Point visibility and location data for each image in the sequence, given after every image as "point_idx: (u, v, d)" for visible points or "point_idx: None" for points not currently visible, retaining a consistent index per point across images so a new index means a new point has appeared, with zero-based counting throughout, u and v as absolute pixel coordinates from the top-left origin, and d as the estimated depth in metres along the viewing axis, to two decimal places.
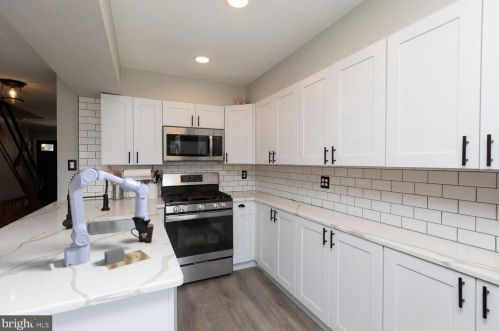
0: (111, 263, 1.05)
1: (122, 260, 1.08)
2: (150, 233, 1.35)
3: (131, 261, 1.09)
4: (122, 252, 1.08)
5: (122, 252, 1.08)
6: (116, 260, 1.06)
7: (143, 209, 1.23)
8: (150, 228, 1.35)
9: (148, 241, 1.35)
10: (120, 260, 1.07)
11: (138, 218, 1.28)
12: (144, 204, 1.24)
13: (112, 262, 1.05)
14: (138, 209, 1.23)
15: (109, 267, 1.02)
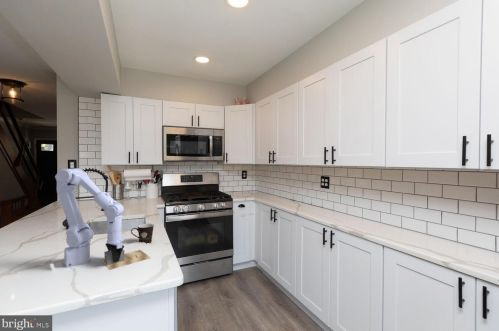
0: (111, 263, 1.05)
1: (122, 260, 1.08)
2: (150, 233, 1.35)
3: (131, 261, 1.09)
4: (122, 252, 1.08)
5: (122, 252, 1.08)
6: None
7: (116, 234, 1.05)
8: (150, 228, 1.35)
9: (148, 241, 1.35)
10: (120, 260, 1.07)
11: (113, 244, 1.09)
12: (112, 229, 1.05)
13: (112, 262, 1.05)
14: (110, 235, 1.05)
15: (109, 267, 1.02)
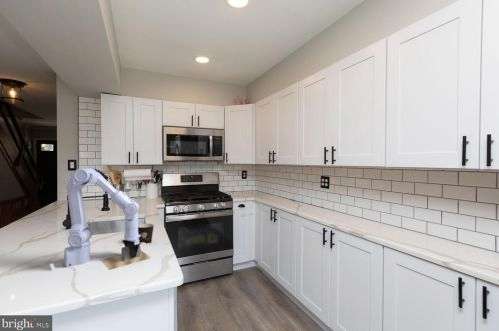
0: (128, 258, 1.10)
1: (138, 256, 1.13)
2: (150, 233, 1.35)
3: (131, 261, 1.09)
4: (138, 248, 1.13)
5: (138, 248, 1.13)
6: None
7: (133, 231, 1.11)
8: (150, 228, 1.35)
9: (148, 241, 1.35)
10: (136, 256, 1.12)
11: (129, 241, 1.14)
12: (131, 226, 1.10)
13: (129, 257, 1.10)
14: (128, 232, 1.10)
15: (109, 267, 1.02)
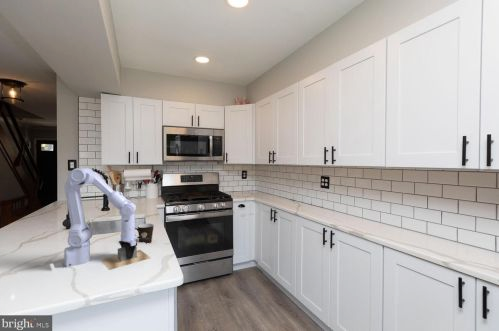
0: (124, 259, 1.09)
1: (134, 257, 1.12)
2: (150, 233, 1.35)
3: (131, 261, 1.09)
4: None
5: (135, 249, 1.12)
6: None
7: (130, 232, 1.10)
8: (150, 228, 1.35)
9: (148, 241, 1.35)
10: (133, 257, 1.11)
11: (126, 242, 1.13)
12: (128, 227, 1.09)
13: (125, 258, 1.09)
14: (124, 232, 1.09)
15: (109, 267, 1.02)
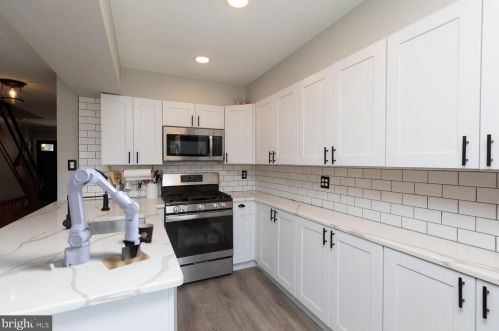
0: (128, 258, 1.10)
1: (138, 256, 1.13)
2: (150, 233, 1.35)
3: (131, 261, 1.09)
4: None
5: (139, 248, 1.13)
6: None
7: (134, 231, 1.11)
8: (150, 228, 1.35)
9: (148, 241, 1.35)
10: None
11: (130, 241, 1.14)
12: (132, 226, 1.10)
13: (129, 257, 1.10)
14: (128, 232, 1.10)
15: (109, 267, 1.02)
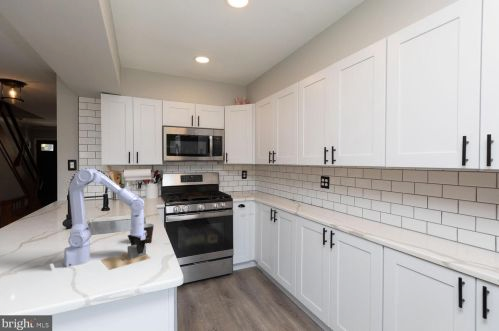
0: (134, 257, 1.12)
1: (144, 254, 1.15)
2: (150, 233, 1.35)
3: (131, 261, 1.09)
4: (144, 247, 1.15)
5: (144, 247, 1.15)
6: (138, 254, 1.13)
7: (139, 227, 1.13)
8: (150, 228, 1.35)
9: (148, 241, 1.35)
10: (142, 254, 1.14)
11: (134, 236, 1.17)
12: (138, 222, 1.12)
13: (135, 256, 1.12)
14: (134, 227, 1.12)
15: (109, 267, 1.02)
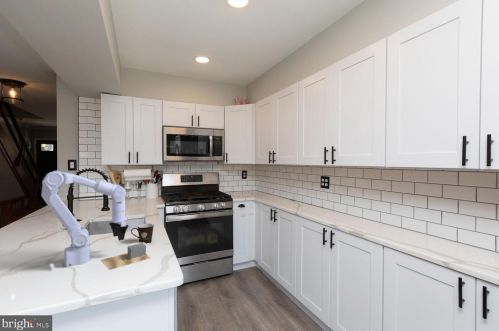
0: (134, 257, 1.12)
1: (144, 254, 1.15)
2: (150, 233, 1.35)
3: (131, 261, 1.09)
4: (144, 247, 1.15)
5: (144, 247, 1.15)
6: (138, 254, 1.13)
7: (120, 214, 1.14)
8: (150, 228, 1.35)
9: (148, 241, 1.35)
10: (142, 254, 1.14)
11: (116, 224, 1.18)
12: (121, 209, 1.14)
13: (135, 256, 1.12)
14: (115, 214, 1.13)
15: (109, 267, 1.02)
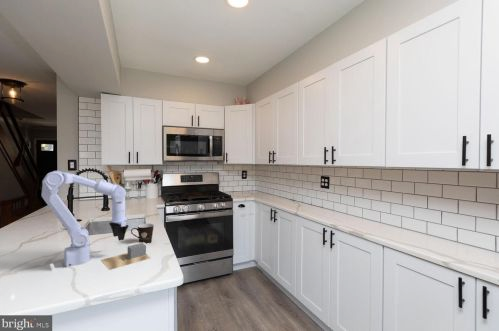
0: (134, 257, 1.12)
1: (144, 254, 1.15)
2: (150, 233, 1.35)
3: (131, 261, 1.09)
4: (144, 247, 1.15)
5: (144, 247, 1.15)
6: (138, 254, 1.13)
7: (120, 214, 1.14)
8: (150, 228, 1.35)
9: (148, 241, 1.35)
10: (142, 254, 1.14)
11: (116, 224, 1.18)
12: (121, 209, 1.14)
13: (135, 256, 1.12)
14: (115, 214, 1.13)
15: (109, 267, 1.02)
